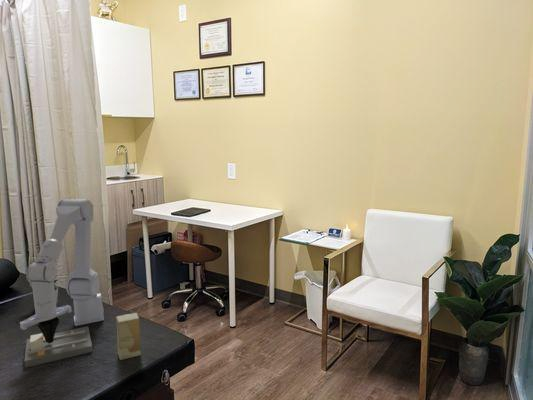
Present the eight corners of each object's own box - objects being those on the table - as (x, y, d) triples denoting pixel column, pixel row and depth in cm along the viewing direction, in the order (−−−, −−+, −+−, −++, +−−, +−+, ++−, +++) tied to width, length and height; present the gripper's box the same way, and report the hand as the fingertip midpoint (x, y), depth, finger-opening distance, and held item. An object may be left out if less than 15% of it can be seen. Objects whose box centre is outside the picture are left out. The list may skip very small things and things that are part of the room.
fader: (43, 341, 128) (42, 333, 128) (43, 348, 124) (42, 339, 124) (31, 344, 127) (30, 335, 126) (31, 351, 123) (30, 342, 122)
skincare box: (119, 360, 122) (116, 322, 119) (117, 353, 125) (114, 316, 123) (142, 355, 124) (139, 317, 122) (139, 348, 128) (136, 311, 126)
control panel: (88, 331, 139) (88, 324, 138) (92, 351, 127) (91, 343, 126) (27, 345, 131) (26, 337, 130) (25, 367, 118) (24, 359, 118)
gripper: (61, 289, 133) (66, 328, 135) (13, 305, 121) (18, 347, 124) (73, 294, 128) (77, 334, 131) (24, 311, 117) (29, 355, 119)
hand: (49, 341), depth 127 cm, fingers closed
